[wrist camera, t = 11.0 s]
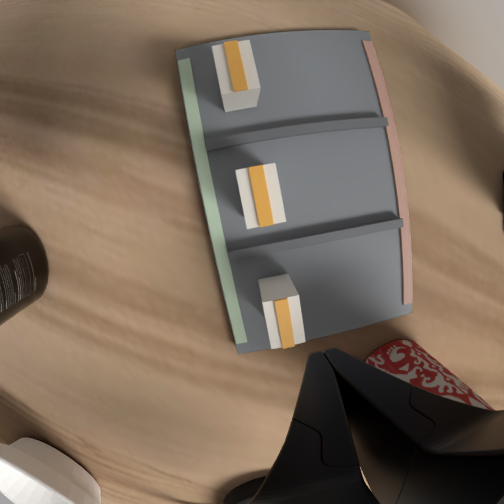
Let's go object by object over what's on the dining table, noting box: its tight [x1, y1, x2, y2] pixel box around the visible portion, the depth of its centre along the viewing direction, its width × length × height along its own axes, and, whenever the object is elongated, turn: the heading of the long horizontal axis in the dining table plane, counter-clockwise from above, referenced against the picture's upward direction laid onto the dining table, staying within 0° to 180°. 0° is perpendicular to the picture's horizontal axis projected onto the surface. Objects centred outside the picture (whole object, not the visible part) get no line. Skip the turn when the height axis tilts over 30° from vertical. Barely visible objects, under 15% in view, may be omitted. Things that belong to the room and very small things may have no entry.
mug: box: [364, 340, 494, 410], centre depth 18 cm, size 13×9×14 cm
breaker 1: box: [212, 40, 261, 112], centre depth 15 cm, size 2×3×4 cm, turn 11°
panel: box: [175, 30, 412, 354], centre depth 19 cm, size 14×22×2 cm, turn 11°
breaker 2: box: [258, 274, 305, 349], centre depth 18 cm, size 2×3×4 cm, turn 11°
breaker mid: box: [235, 163, 286, 229], centre depth 17 cm, size 2×3×4 cm, turn 11°
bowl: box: [0, 438, 101, 504], centre depth 23 cm, size 21×21×8 cm
